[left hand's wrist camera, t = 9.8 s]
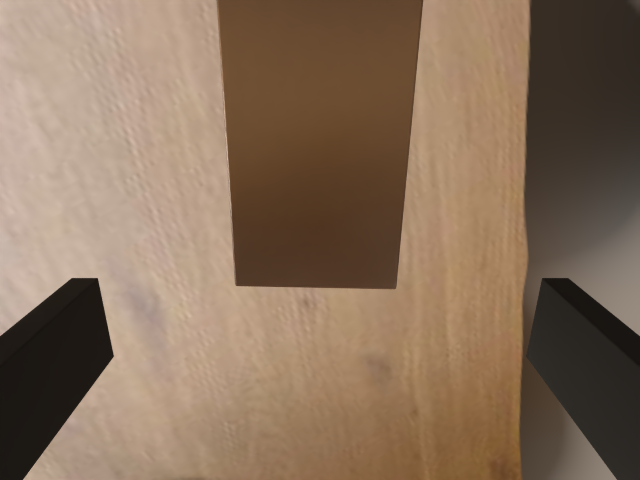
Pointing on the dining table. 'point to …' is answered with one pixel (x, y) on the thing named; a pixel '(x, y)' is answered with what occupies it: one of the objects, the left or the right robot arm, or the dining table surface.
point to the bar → (318, 137)
